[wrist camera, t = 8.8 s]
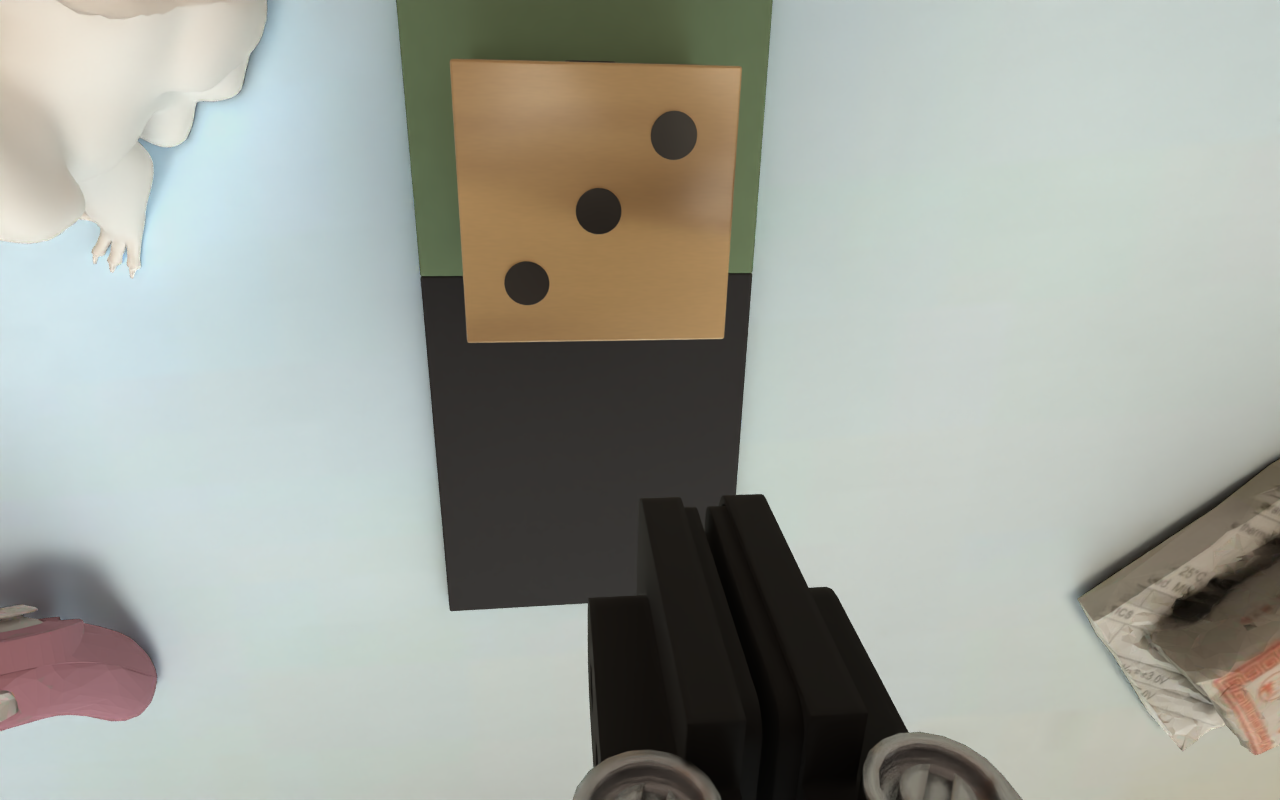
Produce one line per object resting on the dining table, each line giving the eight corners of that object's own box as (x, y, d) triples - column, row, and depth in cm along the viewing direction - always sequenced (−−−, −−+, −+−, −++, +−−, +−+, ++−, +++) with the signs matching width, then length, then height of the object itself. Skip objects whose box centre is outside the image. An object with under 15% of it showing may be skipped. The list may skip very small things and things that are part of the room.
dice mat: (396, -29, 21) (393, -31, 21) (769, -17, 22) (774, -18, 22) (451, 603, 29) (449, 612, 28) (725, 587, 30) (728, 595, 29)
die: (481, 278, 24) (469, 57, 22) (682, 277, 25) (691, 63, 22) (465, 344, 18) (447, 57, 16) (724, 340, 19) (743, 64, 17)
